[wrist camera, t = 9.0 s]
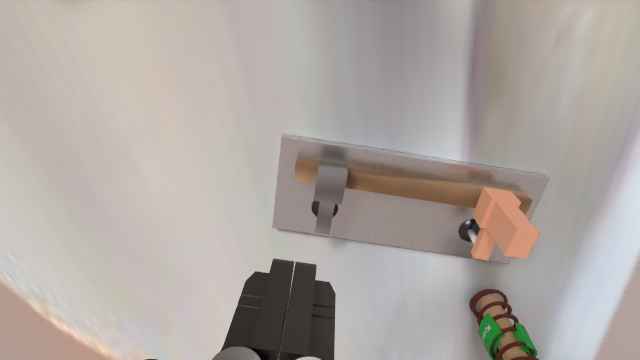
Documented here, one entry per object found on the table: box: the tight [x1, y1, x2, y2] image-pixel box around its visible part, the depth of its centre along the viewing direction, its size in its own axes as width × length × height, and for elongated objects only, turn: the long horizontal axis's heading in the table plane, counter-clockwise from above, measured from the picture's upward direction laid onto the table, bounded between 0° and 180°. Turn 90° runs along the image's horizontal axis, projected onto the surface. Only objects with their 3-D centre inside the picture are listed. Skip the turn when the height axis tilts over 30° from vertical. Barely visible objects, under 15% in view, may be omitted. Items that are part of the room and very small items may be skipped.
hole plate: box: [272, 134, 549, 264], centre depth 43 cm, size 12×30×1 cm, turn 82°
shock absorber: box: [470, 289, 539, 360], centre depth 43 cm, size 6×6×15 cm
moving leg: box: [467, 187, 540, 260], centre depth 37 cm, size 8×3×9 cm, turn 172°
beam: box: [294, 157, 533, 235], centre depth 40 cm, size 8×26×4 cm, turn 82°
